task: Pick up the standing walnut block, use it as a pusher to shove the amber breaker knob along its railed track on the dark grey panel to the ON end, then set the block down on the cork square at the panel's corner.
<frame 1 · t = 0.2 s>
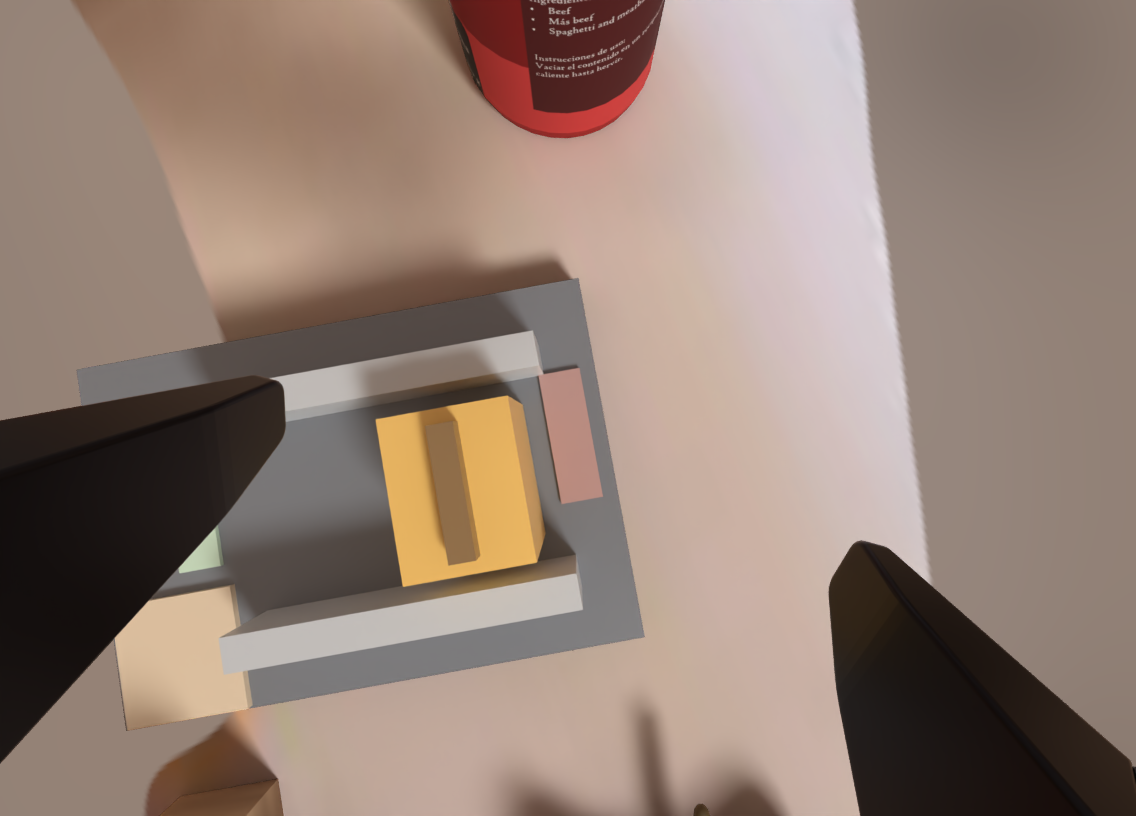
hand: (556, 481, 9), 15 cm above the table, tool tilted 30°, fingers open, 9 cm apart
breaker knob: (469, 484, 19), point 4 cm above the table, slide at 0.0 cm
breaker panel: (369, 496, 23), on the table
canned food: (559, 59, 24), on the table
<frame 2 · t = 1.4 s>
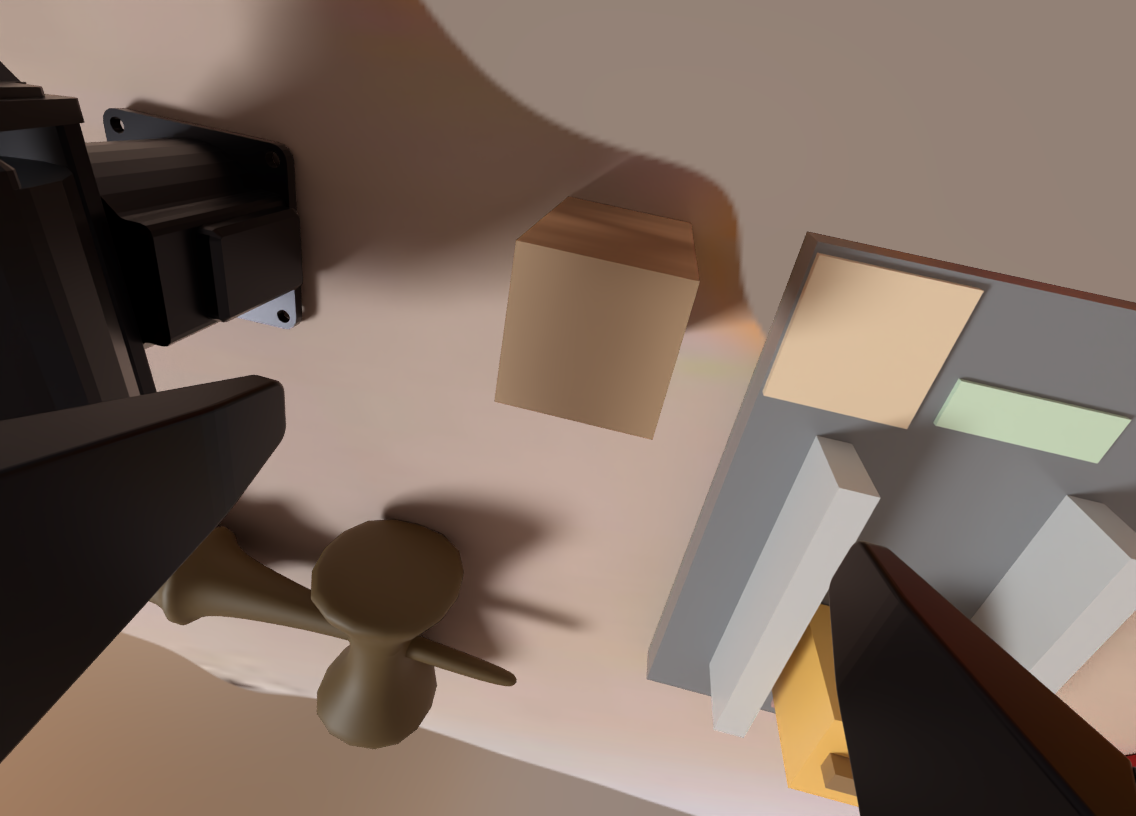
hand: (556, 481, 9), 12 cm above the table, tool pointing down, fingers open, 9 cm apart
breaker knob: (866, 714, 21), point 4 cm above the table, slide at 0.0 cm
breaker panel: (888, 530, 22), on the table
walnut block: (615, 270, 19), on the table
kendama: (342, 565, 29), on the table
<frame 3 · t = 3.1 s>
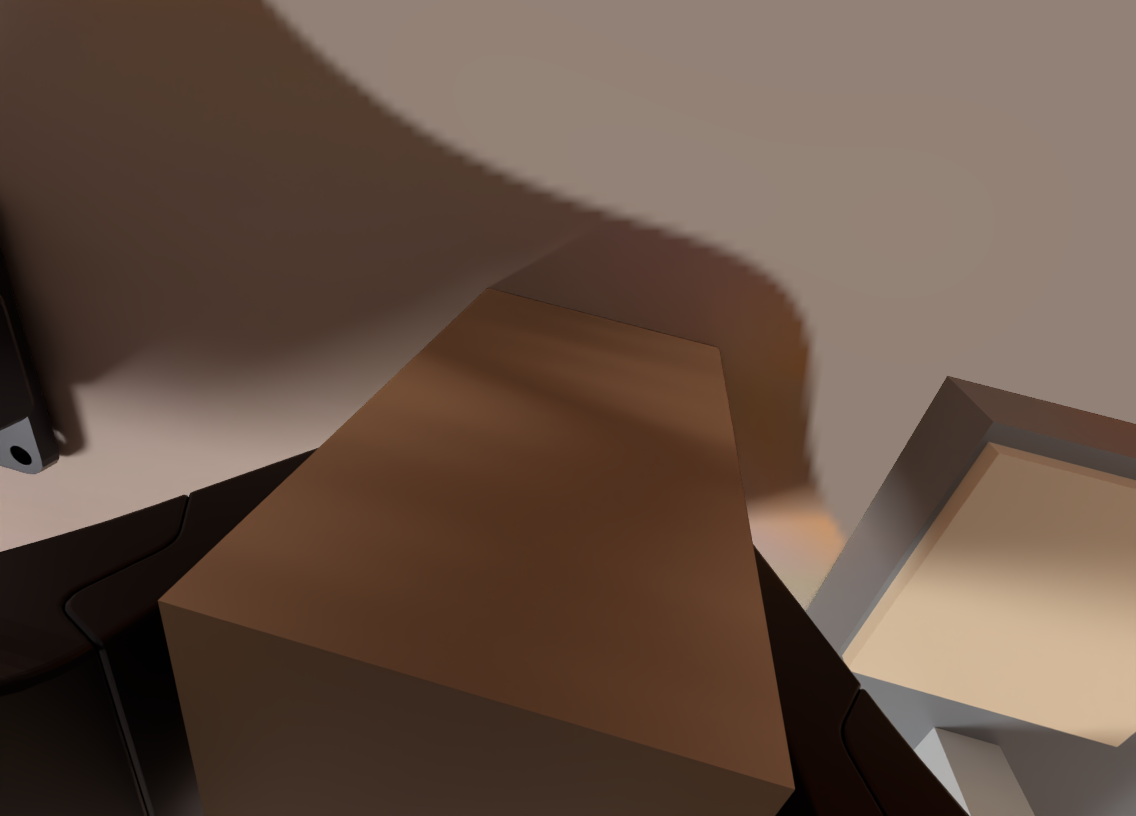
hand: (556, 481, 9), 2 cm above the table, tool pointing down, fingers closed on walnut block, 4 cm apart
walnut block: (576, 418, 10), on the table, touching gripper
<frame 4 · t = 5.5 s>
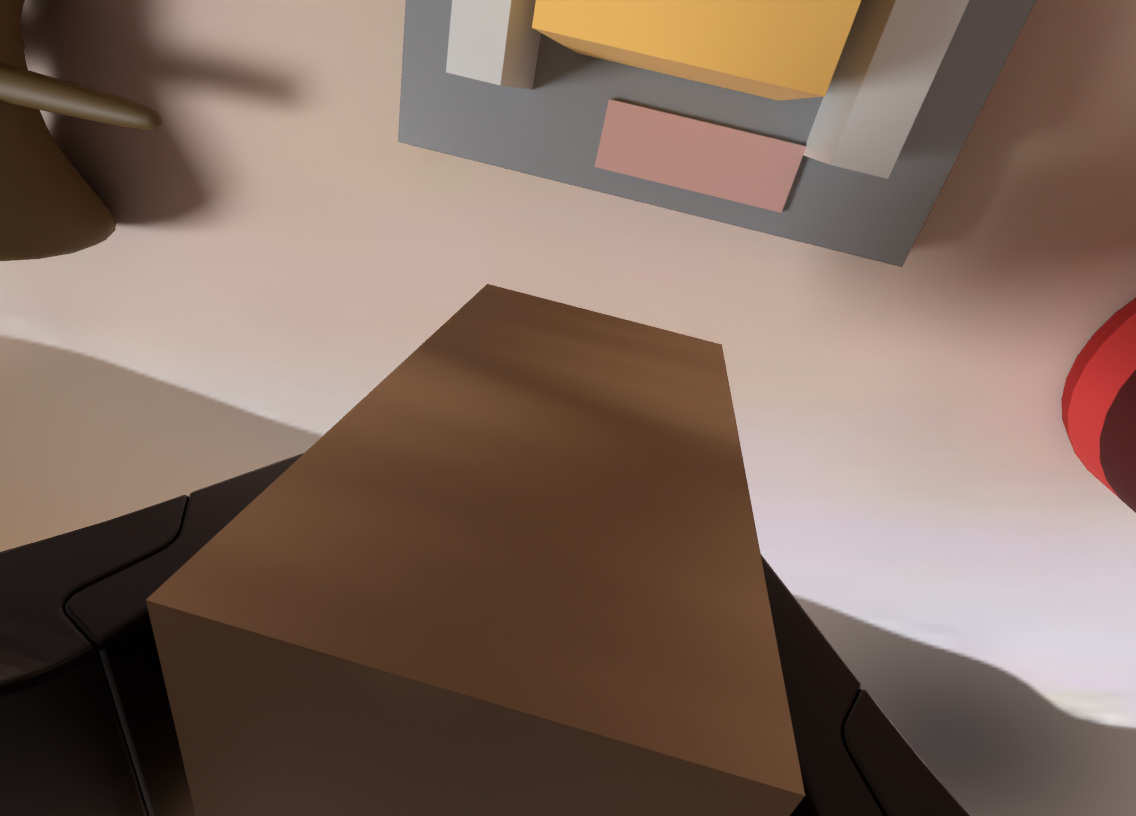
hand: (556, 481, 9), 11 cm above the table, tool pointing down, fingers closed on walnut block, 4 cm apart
walnut block: (577, 416, 10), point 9 cm above the table, touching gripper
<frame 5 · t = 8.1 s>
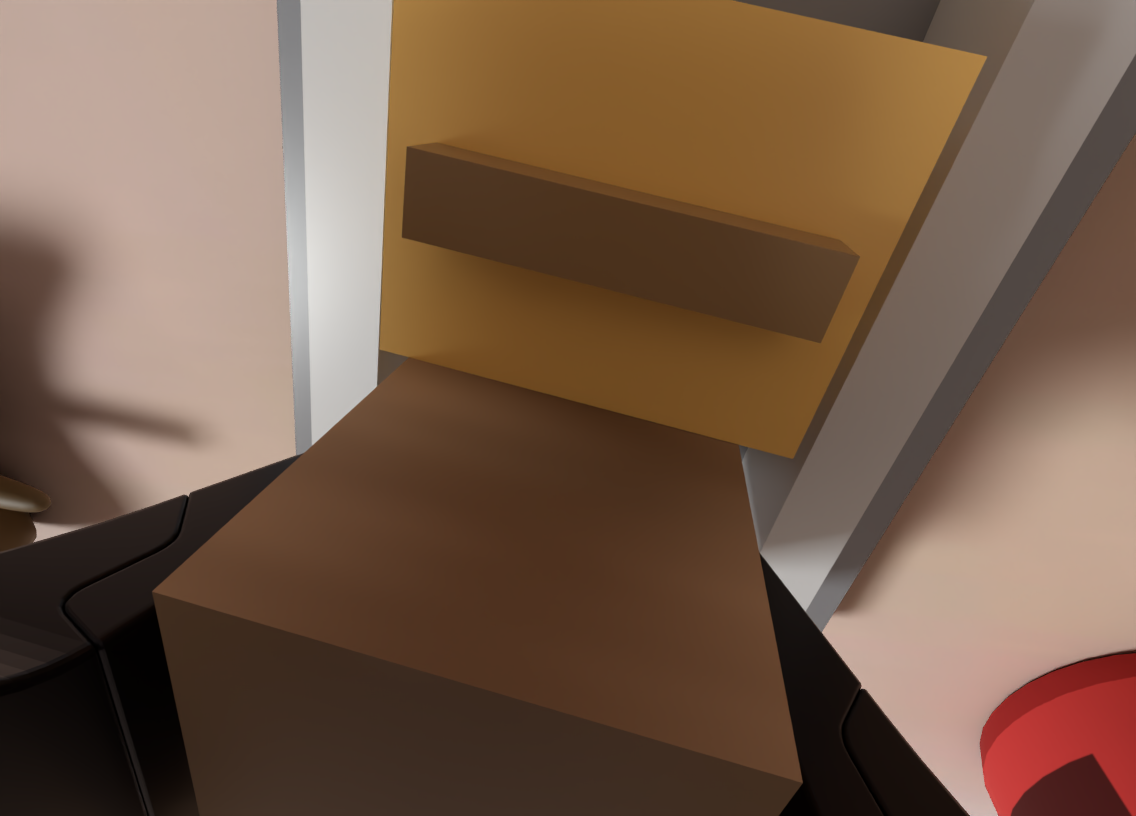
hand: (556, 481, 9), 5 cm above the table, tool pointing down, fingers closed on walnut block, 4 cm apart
breaker knob: (638, 201, 8), point 4 cm above the table, slide at 5.4 cm, touching walnut block
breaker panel: (646, 192, 12), on the table
walnut block: (577, 417, 10), point 3 cm above the table, touching breaker knob, gripper
canned food: (1124, 730, 16), on the table
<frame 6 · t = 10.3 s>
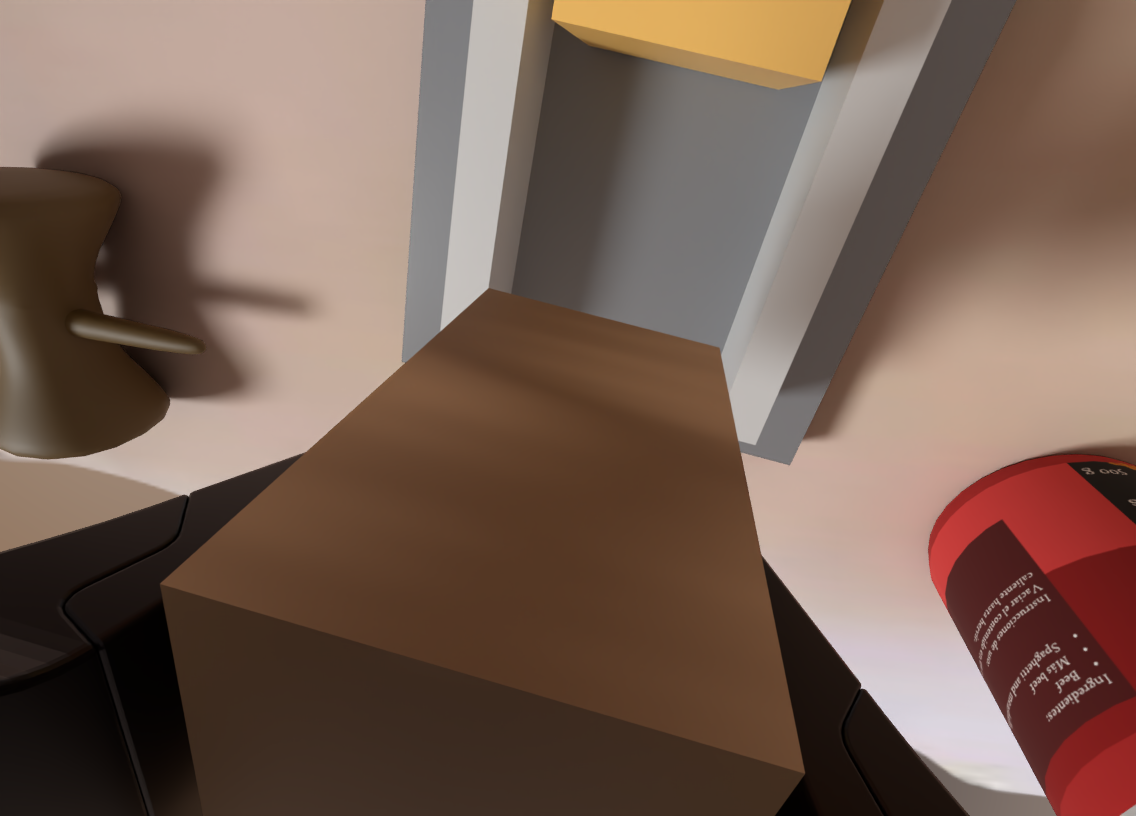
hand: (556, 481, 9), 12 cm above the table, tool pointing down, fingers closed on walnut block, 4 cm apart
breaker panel: (676, 92, 16), on the table
walnut block: (577, 418, 10), point 10 cm above the table, touching gripper
canned food: (1038, 532, 21), on the table
kendama: (41, 278, 24), on the table
when the fingers open (5 cm above the table, at t = 12.3 s): walnut block stays where it is, resting on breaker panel.
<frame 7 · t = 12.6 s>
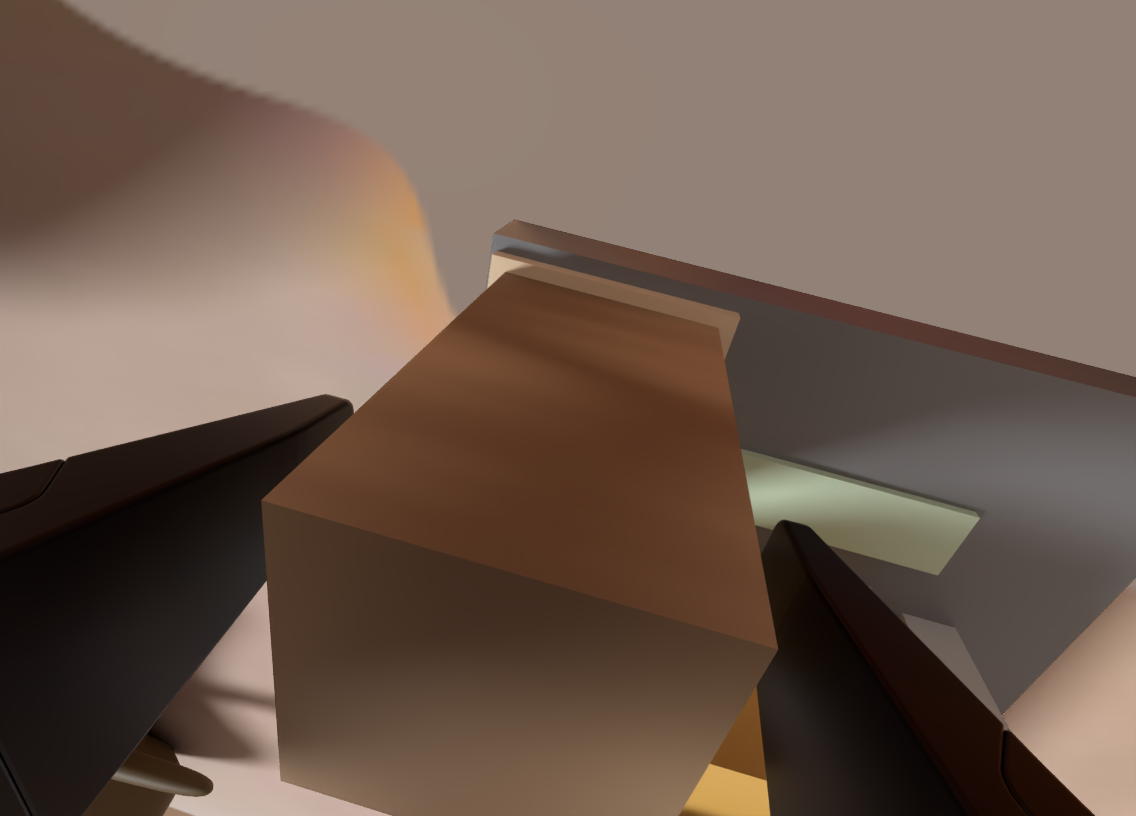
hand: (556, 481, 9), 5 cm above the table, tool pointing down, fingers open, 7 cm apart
breaker knob: (739, 729, 11), point 4 cm above the table, slide at 7.5 cm
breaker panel: (693, 632, 16), on the table
walnut block: (586, 394, 11), point 2 cm above the table, touching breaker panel
kendama: (50, 655, 24), on the table
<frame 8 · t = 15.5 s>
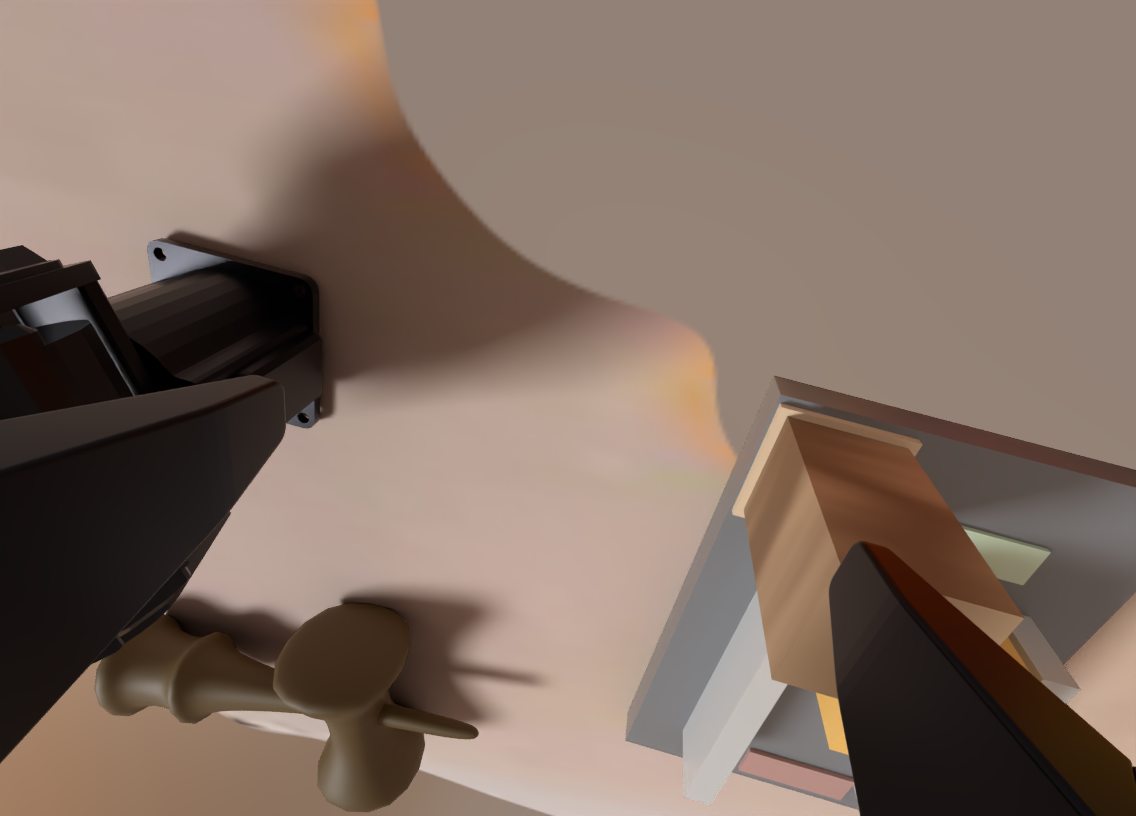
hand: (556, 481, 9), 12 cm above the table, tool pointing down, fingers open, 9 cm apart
breaker knob: (912, 675, 19), point 4 cm above the table, slide at 7.5 cm
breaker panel: (845, 621, 24), on the table
walnut block: (821, 480, 19), point 2 cm above the table, touching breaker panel
kendama: (325, 647, 32), on the table
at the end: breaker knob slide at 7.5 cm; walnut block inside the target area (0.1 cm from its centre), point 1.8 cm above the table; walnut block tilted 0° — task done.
